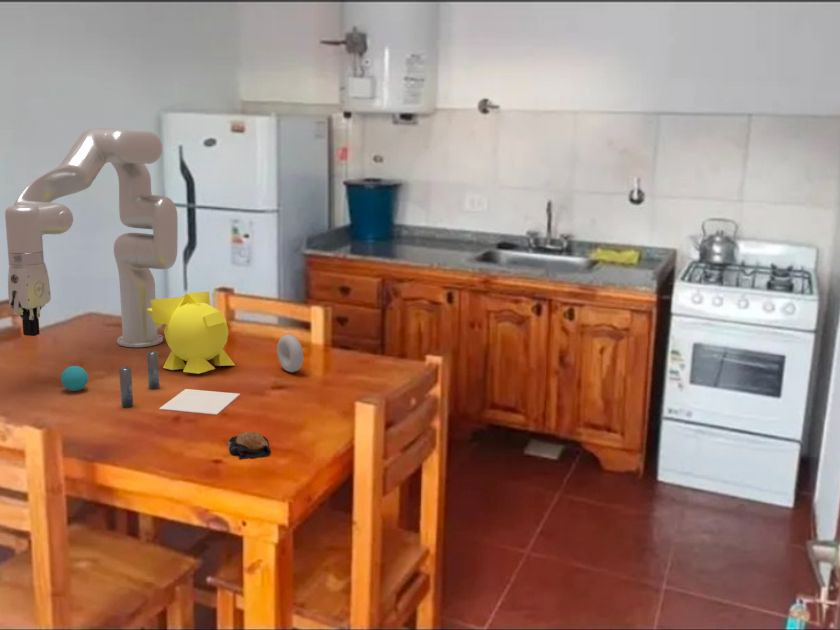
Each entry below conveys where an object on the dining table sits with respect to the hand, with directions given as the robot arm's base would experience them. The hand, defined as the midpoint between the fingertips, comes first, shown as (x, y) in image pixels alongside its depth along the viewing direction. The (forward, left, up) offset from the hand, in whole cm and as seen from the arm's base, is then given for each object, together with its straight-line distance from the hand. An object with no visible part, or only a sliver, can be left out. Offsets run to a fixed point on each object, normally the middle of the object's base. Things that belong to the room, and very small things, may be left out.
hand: (31, 334), depth 205 cm
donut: (-27, +55, -14) cm, 63 cm away
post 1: (+6, +27, -13) cm, 31 cm away
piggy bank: (-25, +29, -14) cm, 41 cm away
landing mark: (0, +42, -13) cm, 44 cm away
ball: (0, +10, -10) cm, 14 cm away
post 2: (-7, +27, -13) cm, 31 cm away
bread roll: (+23, +63, -14) cm, 68 cm away
